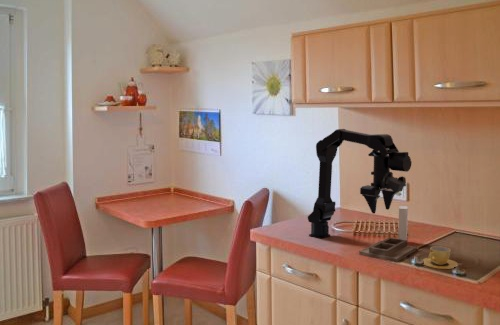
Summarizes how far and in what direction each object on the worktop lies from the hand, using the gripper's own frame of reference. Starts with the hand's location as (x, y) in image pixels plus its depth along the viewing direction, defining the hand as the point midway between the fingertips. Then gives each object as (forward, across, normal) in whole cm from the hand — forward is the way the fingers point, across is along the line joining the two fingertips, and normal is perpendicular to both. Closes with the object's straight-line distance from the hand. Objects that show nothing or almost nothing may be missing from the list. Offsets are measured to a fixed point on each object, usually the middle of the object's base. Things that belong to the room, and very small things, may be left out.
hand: (380, 211), depth 187 cm
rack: (+15, 0, -4) cm, 15 cm away
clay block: (+15, +15, -1) cm, 21 cm away
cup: (+15, +1, -23) cm, 27 cm away
